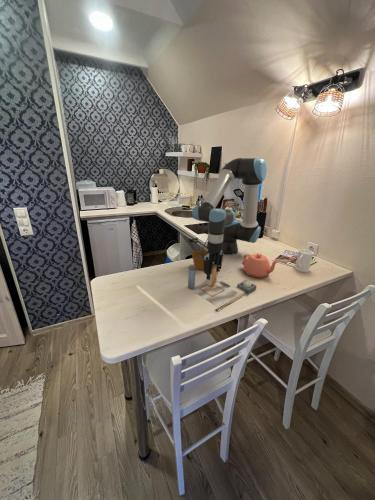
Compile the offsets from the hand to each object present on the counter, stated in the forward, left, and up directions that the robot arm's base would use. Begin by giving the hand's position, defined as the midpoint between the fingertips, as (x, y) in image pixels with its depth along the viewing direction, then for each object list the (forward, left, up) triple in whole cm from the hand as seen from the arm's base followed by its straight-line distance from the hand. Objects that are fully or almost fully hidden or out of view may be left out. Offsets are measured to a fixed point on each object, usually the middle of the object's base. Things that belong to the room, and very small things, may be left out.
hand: (211, 283), depth 116 cm
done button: (+13, +13, -2) cm, 19 cm away
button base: (+13, +13, -2) cm, 19 cm away
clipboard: (+4, -3, -2) cm, 5 cm away
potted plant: (-18, +10, -3) cm, 21 cm away
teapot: (+7, +33, -3) cm, 34 cm away
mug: (+21, +59, -3) cm, 63 cm away
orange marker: (0, 0, -1) cm, 1 cm away
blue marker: (-5, -10, -1) cm, 11 cm away
